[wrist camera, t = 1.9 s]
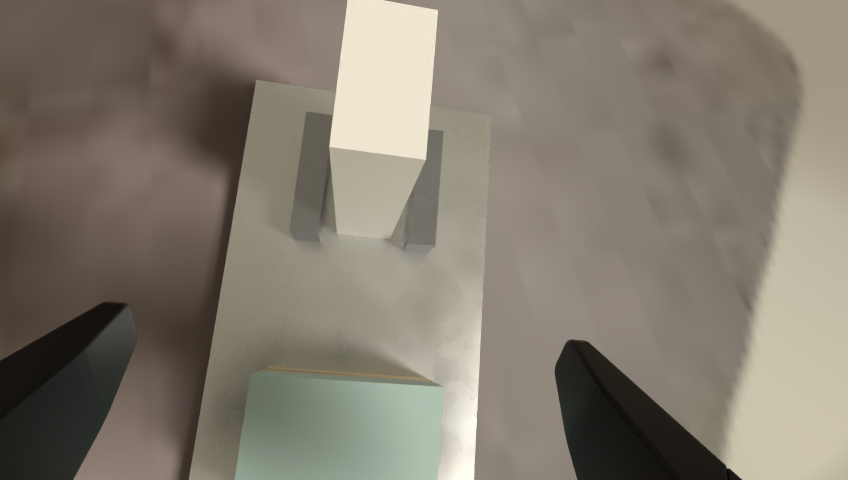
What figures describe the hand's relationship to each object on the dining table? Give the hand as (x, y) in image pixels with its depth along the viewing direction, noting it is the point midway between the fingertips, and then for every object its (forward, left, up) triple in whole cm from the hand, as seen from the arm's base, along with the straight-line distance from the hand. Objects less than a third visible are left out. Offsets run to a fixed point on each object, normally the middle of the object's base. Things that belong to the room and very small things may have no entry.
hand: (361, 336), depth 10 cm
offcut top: (-4, +2, -10) cm, 11 cm away
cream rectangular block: (+6, -3, -12) cm, 14 cm away
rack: (+2, -1, -13) cm, 13 cm away
